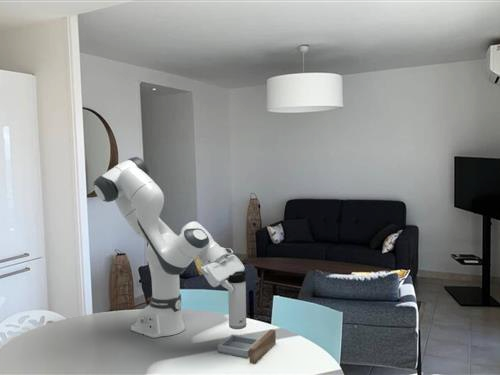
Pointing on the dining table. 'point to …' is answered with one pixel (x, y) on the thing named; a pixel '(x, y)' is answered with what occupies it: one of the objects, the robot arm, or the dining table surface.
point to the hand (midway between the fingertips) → (238, 288)
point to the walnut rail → (262, 346)
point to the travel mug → (237, 300)
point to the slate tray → (237, 346)
